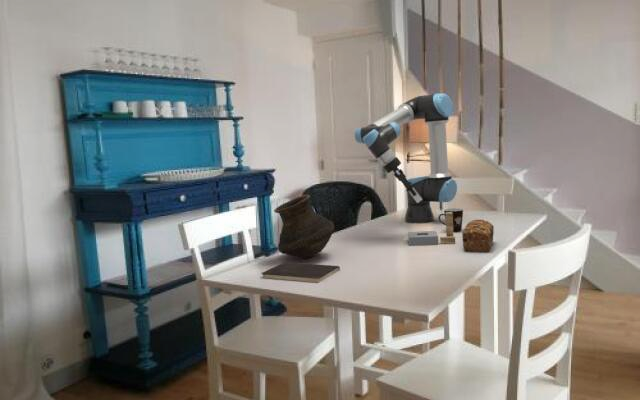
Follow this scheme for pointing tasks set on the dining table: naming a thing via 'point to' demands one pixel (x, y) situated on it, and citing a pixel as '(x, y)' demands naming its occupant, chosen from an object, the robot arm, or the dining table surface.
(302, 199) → the ceramic pot
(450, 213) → the long oak peg
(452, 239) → the short oak peg
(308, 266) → the hardcover book
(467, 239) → the bread
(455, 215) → the coffee mug
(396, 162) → the robot arm
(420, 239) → the socket block
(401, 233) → the dining table surface
